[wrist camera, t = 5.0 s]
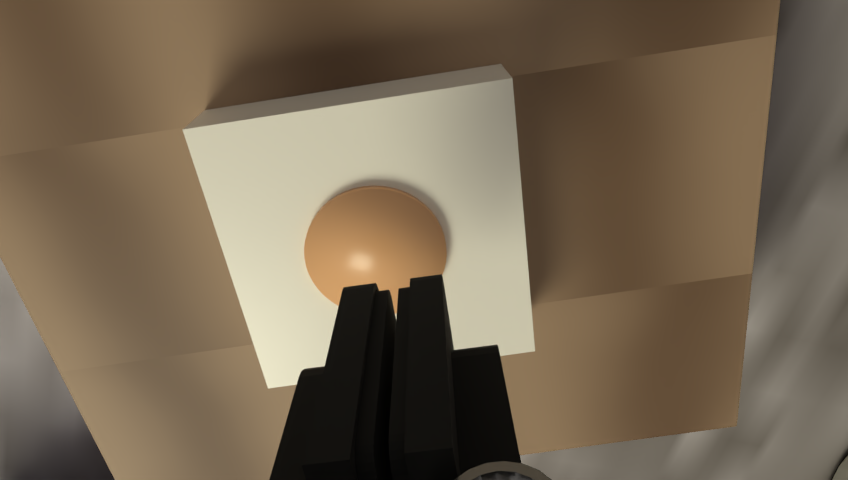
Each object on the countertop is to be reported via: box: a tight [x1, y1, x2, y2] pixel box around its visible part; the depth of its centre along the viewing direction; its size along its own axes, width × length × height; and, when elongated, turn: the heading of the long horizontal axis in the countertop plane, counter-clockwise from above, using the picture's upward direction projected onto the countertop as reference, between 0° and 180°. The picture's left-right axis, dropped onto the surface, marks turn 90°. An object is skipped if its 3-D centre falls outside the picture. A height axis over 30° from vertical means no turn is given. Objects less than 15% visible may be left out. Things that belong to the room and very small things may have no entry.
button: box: [182, 64, 535, 389], centre depth 16 cm, size 6×6×6 cm
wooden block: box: [0, 0, 780, 480], centre depth 17 cm, size 18×16×5 cm
